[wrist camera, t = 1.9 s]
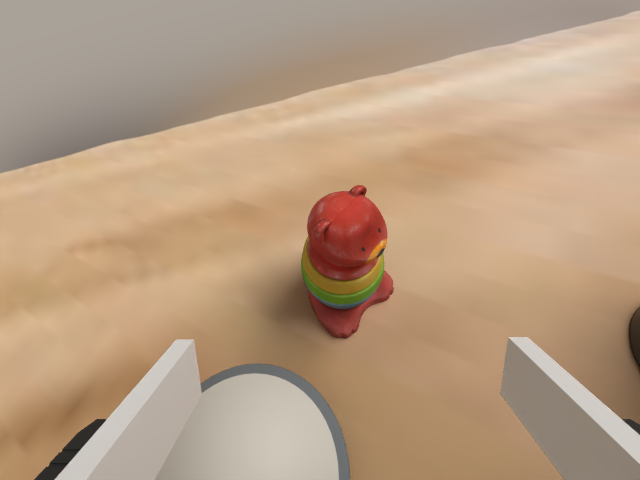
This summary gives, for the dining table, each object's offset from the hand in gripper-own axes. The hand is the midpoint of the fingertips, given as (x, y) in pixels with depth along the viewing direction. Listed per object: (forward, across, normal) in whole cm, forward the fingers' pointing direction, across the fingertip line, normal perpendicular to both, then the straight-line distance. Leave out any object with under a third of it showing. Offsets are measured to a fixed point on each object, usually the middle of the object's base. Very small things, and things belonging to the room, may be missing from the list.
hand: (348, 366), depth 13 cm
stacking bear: (+26, +1, -8) cm, 27 cm away
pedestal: (+13, -9, -22) cm, 26 cm away
